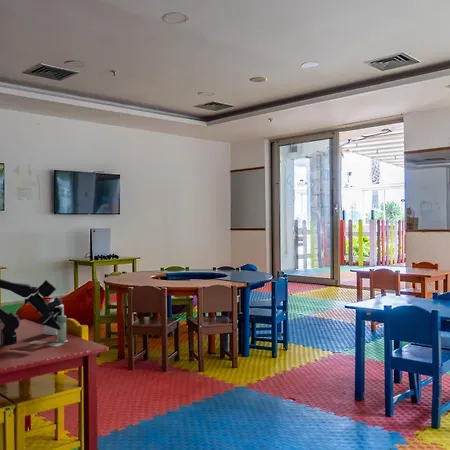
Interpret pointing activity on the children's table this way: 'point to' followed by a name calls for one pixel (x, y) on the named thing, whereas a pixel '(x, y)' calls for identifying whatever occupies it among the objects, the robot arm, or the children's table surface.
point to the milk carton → (51, 330)
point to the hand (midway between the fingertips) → (63, 327)
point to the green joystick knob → (62, 332)
